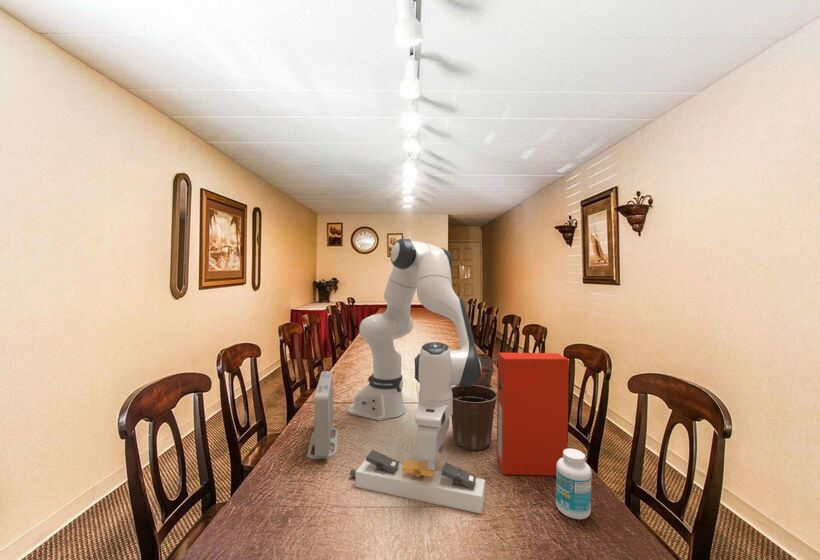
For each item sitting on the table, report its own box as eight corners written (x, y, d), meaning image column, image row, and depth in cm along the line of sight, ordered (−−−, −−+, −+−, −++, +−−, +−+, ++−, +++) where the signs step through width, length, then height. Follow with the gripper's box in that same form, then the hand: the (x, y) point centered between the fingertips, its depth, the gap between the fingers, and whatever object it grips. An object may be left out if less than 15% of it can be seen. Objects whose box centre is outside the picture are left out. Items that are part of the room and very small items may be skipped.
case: (451, 404, 145) (452, 361, 145) (451, 388, 165) (452, 350, 165) (495, 407, 143) (497, 364, 143) (490, 391, 163) (491, 352, 163)
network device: (336, 463, 101) (336, 394, 101) (304, 466, 100) (304, 396, 99) (339, 424, 127) (339, 369, 126) (314, 426, 125) (314, 370, 125)
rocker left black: (365, 463, 91) (366, 456, 91) (370, 456, 95) (372, 449, 95) (392, 476, 89) (394, 469, 89) (397, 468, 93) (399, 461, 92)
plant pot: (454, 456, 106) (454, 403, 105) (441, 431, 121) (441, 385, 121) (505, 452, 108) (506, 400, 108) (486, 428, 124) (486, 383, 124)
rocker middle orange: (402, 474, 88) (401, 467, 88) (406, 467, 92) (406, 459, 92) (433, 479, 86) (432, 471, 86) (436, 471, 89) (436, 463, 89)
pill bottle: (549, 500, 86) (550, 445, 85) (578, 498, 86) (580, 444, 86) (566, 522, 78) (567, 462, 78) (597, 520, 79) (599, 461, 78)
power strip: (345, 484, 91) (345, 467, 91) (357, 469, 98) (357, 454, 98) (481, 513, 81) (481, 495, 81) (484, 495, 87) (485, 477, 87)
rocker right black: (440, 477, 85) (442, 469, 85) (443, 469, 89) (445, 462, 88) (472, 492, 83) (474, 484, 83) (474, 483, 86) (476, 475, 86)
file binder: (496, 459, 104) (497, 352, 103) (555, 460, 104) (557, 352, 103) (503, 475, 96) (504, 359, 95) (567, 476, 96) (569, 359, 95)
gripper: (433, 392, 102) (433, 440, 102) (412, 420, 82) (412, 479, 83) (454, 395, 100) (454, 443, 100) (439, 423, 81) (439, 483, 81)
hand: (435, 459), depth 91 cm, fingers open, 7 cm apart
